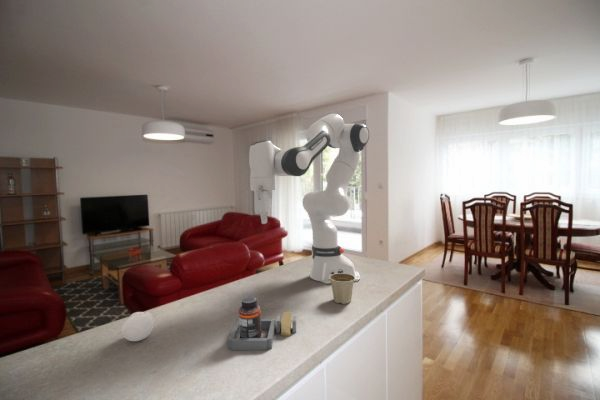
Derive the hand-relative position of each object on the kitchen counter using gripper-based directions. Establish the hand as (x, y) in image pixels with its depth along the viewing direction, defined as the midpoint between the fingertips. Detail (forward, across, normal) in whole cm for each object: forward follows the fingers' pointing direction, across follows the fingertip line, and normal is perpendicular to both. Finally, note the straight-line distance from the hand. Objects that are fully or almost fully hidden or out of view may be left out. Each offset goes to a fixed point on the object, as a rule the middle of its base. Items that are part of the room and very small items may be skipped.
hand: (264, 223), depth 102 cm
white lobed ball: (+28, -26, +33) cm, 50 cm away
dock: (+28, -27, -2) cm, 39 cm away
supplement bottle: (+28, -28, +2) cm, 39 cm away
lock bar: (+28, -22, -8) cm, 37 cm away
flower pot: (+29, -3, -27) cm, 40 cm away
